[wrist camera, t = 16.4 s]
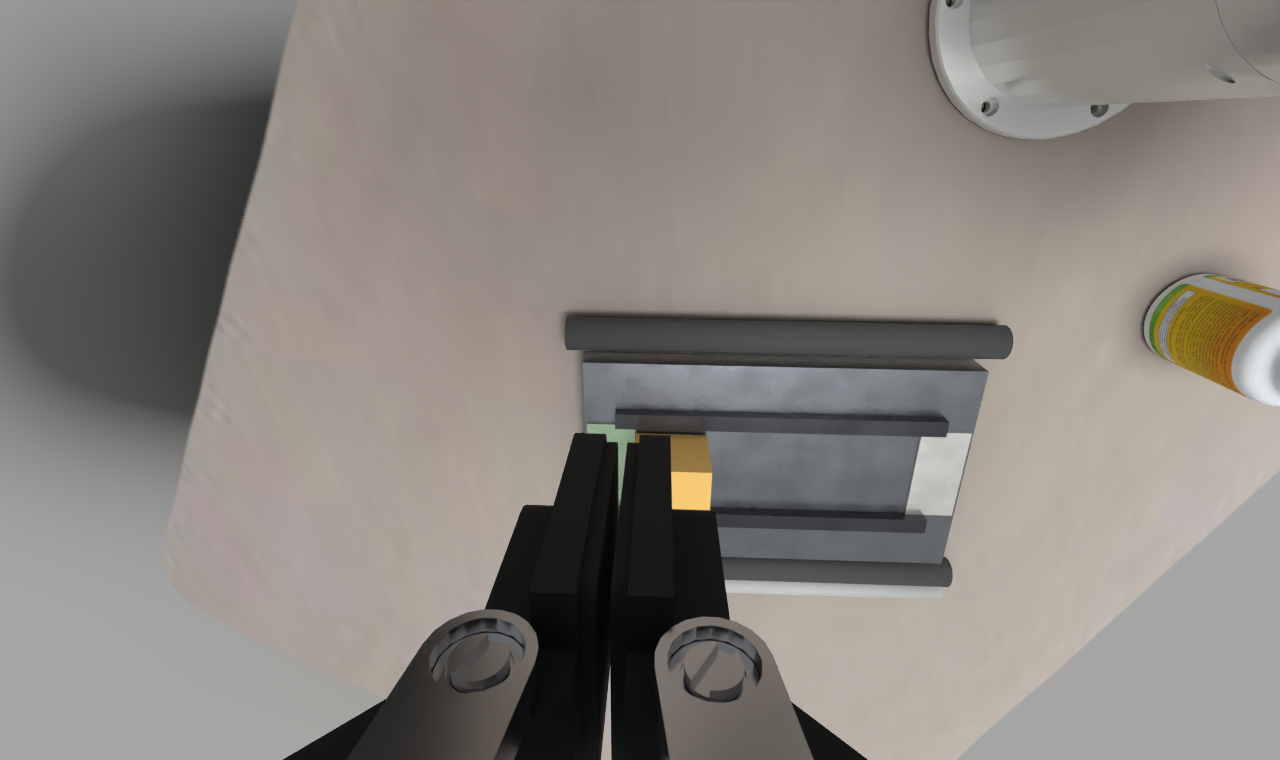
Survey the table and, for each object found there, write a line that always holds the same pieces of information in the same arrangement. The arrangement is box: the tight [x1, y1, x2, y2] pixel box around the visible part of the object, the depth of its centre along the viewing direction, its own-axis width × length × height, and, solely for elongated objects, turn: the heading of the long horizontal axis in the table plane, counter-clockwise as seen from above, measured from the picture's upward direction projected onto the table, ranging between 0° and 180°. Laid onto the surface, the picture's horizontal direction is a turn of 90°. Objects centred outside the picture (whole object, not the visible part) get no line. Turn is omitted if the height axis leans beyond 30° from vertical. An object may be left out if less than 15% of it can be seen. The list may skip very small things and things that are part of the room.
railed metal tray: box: [583, 351, 988, 564], centre depth 40 cm, size 24×14×3 cm, turn 89°
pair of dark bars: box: [565, 317, 1013, 600], centre depth 40 cm, size 26×20×2 cm
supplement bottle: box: [1144, 274, 1280, 406], centre depth 32 cm, size 5×5×10 cm
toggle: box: [635, 433, 712, 510], centre depth 37 cm, size 4×5×4 cm
